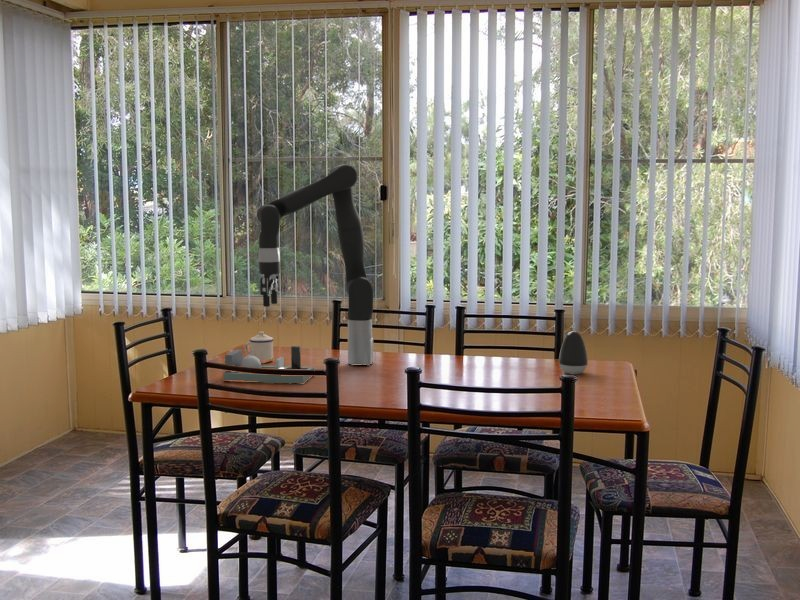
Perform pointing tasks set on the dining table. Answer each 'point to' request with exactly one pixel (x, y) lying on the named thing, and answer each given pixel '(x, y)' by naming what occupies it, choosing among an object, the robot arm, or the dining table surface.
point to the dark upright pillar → (294, 359)
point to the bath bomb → (250, 362)
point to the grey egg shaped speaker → (573, 354)
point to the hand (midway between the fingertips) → (270, 305)
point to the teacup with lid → (260, 346)
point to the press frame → (235, 359)
